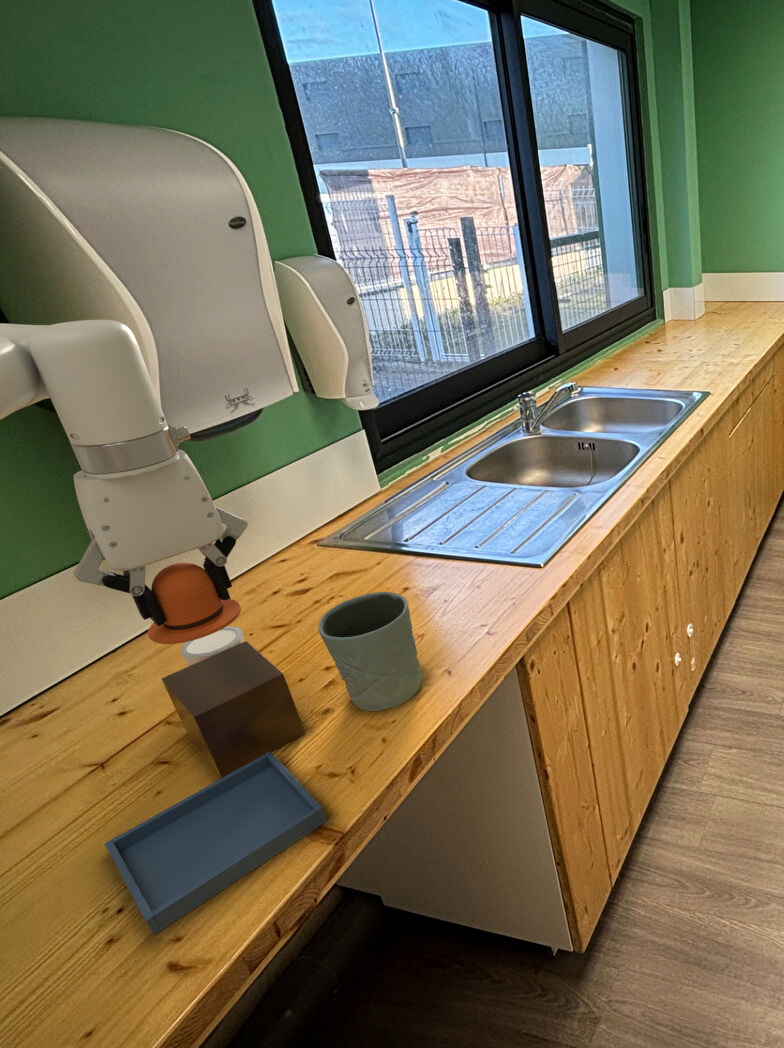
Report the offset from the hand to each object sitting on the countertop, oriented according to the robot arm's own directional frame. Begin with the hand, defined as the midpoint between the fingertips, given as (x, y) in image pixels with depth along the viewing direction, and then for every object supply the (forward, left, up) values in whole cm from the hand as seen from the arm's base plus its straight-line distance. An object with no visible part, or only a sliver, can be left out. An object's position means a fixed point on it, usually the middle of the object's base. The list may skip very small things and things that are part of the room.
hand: (190, 606), depth 76 cm
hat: (0, 0, -2) cm, 2 cm away
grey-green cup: (+15, -5, -19) cm, 25 cm away
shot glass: (+3, +14, -19) cm, 24 cm away
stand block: (0, +1, -19) cm, 19 cm away
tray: (-7, -14, -19) cm, 24 cm away
